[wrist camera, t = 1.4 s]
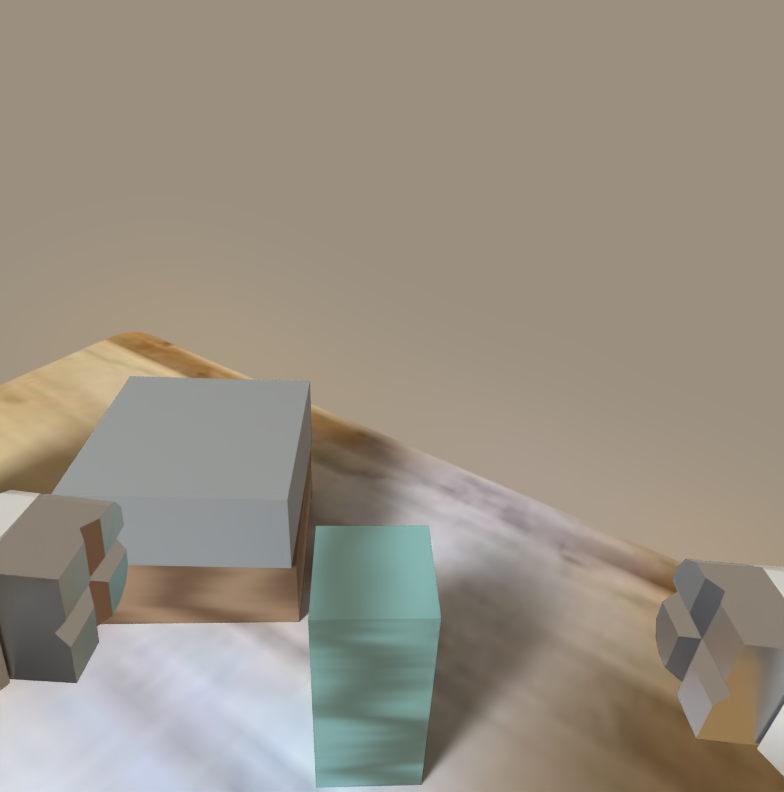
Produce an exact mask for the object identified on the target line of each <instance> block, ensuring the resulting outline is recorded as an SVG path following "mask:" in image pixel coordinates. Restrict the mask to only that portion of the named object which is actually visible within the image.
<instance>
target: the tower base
mask: <svg viewBox="0 0 784 792" xmlns="http://www.w3.org/2000/svg"><path fill="white" fill-rule="evenodd" d="M311 494H312V480H311V452H310V456H309V462H308V468H307V475H306V481H305V487H304V493H303V499H302V506H301V512H300V518H299V524H298V531H297V537H296V543H295V549H294V556H293V562H292V568H249V567H195V566H142V565H128V569H127V580H126V583H125V587H124V591H123V594H122V598H121V600H120V602H119V604H118V606H117V608H116V610H115V612H114V614H113V616H112V617H110V618H109V619H107V620H106V621H104V622H103V623H101V624H149V623H239V622H299V620H300V609H301V599H302V588H303V578H304V567H305V557H306V547H307V536H308V526H309V515H310V505H311Z"/></svg>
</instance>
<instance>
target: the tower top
mask: <svg viewBox="0 0 784 792" xmlns="http://www.w3.org/2000/svg"><path fill="white" fill-rule="evenodd" d="M311 443H312V432H311V401H310V382H309V381H278V380H242V379H207V378H171V377H136V376H130V377H129V379H128V380H127V382H126V383H125V385H124V386H123V388H122V389H121V391H120V392H119V394H118V395H117V397H116V398H115V400H114V401H113V403H112V404H111V406H110V407H109V409H108V410H107V412H106V413H105V414H104V416H103V417H102V419H101V420H100V422H99V423H98V425H97V426H96V428H95V429H94V431H93V432H92V434H91V435H90V437H89V438H88V440H87V441H86V443H85V444H84V446H83V447H82V449H81V450H80V452H79V453H78V455H77V456H76V458H75V459H74V461H73V462H72V464H71V465H70V467H69V468H68V470H67V471H66V473H65V474H64V476H63V477H62V479H61V480H60V481H59V483H58V484H57V486H56V487H55V489H54V490H53V492H52V493H51V494H54V495H62V496H70V497H79V498H87V499H95V500H103V501H111V502H116V503H117V504H118V505H120V506H121V508H122V515H123V522H124V526H123V528H122V530H121V531H120V533H119V535H118V536H117V538H116V539H117V540H118V541H119V542H120V543H121V544H122V545H123V546H124V547H125V548H126V550H127V559H128V565H142V566H195V567H249V568H292V562H293V556H294V549H295V543H296V537H297V531H298V524H299V518H300V512H301V506H302V499H303V493H304V487H305V481H306V475H307V468H308V462H309V456H310V450H311Z"/></svg>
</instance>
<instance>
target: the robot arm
mask: <svg viewBox="0 0 784 792" xmlns="http://www.w3.org/2000/svg"><path fill="white" fill-rule="evenodd" d="M123 526H124V522H123V515H122V508H121V506H120V505H118V504H117V503H116V502H111V501H103V500H95V499H87V498H79V497H70V496H62V495H54V494H41V493H33V492H25V491H16V490H8V491H6V492H3V493H0V690H1V689H3V688H4V687H5V686H7V685H8V684H9V683H10V679H16V680H33V681H49V682H66V683H77V682H78V680H79V678H80V676H81V674H82V673H83V671H84V669H85V667H86V665H87V663H88V661H89V660H90V658H91V656H92V654H93V652H94V650H95V648H96V646H97V645H98V643H99V638H98V631H97V626H98V625H100V624H101V623H103V622H104V621H106V620H107V619H109V618H110V617H112V616H113V614H114V612H115V610H116V608H117V606H118V604H119V602H120V600H121V598H122V594H123V591H124V587H125V583H126V580H127V569H128V559H127V550H126V548H125V547H124V546H123V545H122V544H121V543H120V542H119V541H118V540H117V539H116V538H117V536H118V535H119V533H120V531H121V530H122V528H123ZM672 580H673V582H674V584H675V586H676V589H677V592H676V593H675V594H673V595H672V596H670V597H669V598H667V599H666V600H664V601H663V602H662V605H661V608H660V610H659V613H658V616H657V618H656V641H657V646H658V651H659V654H660V656H661V659H662V661H663V664H664V666H665V668H666V669H667V670H669V671H670V672H671V673H672V674H673V675H674V676H675V677H676V678H678V679H679V680H680V681H681V685H680V687H679V690H678V693H677V696H678V699H679V701H680V703H681V706H682V708H683V710H684V712H685V715H686V717H687V719H688V721H689V724H690V726H691V728H692V731H693V733H694V735H695V737H696V738H697V739H705V740H714V741H722V742H731V743H739V744H748V745H756V746H758V748H757V749H758V750H759V751H760V752H761V753H762V754H763V756H764V757H765V758H766V759H767V760H768V761H769V762H770V763H771V764H772V765H773V766H774V767H775V768H776V769H777V770H778V771H779V772H780V773H781V774H782V775H783V776H784V567H780V566H768V565H745V564H734V563H723V562H713V561H702V560H691V559H685V560H684V561H683V562H682V563H681V564H680V565H679V566H678V567H677V569H676V572H675V574H674V576H673V578H672Z"/></svg>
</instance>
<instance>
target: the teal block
mask: <svg viewBox="0 0 784 792" xmlns="http://www.w3.org/2000/svg"><path fill="white" fill-rule="evenodd" d="M440 624H441V613H440V606H439V598H438V591H437V583H436V576H435V568H434V561H433V553H432V545H431V538H430V530H429V526H316V531H315V543H314V556H313V568H312V580H311V592H310V605H309V617H308V625H309V646H310V667H311V689H312V710H313V731H314V752H315V773H316V787H352V786H390V785H421V783H422V774H423V766H424V757H425V749H426V741H427V732H428V724H429V716H430V707H431V699H432V691H433V682H434V674H435V666H436V657H437V649H438V641H439V632H440Z"/></svg>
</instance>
